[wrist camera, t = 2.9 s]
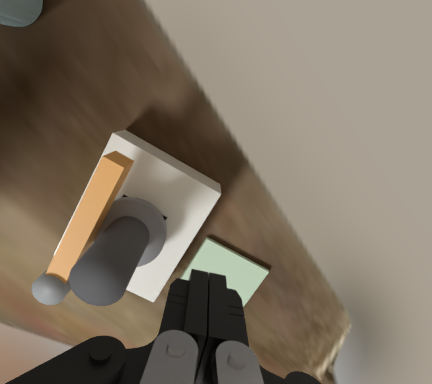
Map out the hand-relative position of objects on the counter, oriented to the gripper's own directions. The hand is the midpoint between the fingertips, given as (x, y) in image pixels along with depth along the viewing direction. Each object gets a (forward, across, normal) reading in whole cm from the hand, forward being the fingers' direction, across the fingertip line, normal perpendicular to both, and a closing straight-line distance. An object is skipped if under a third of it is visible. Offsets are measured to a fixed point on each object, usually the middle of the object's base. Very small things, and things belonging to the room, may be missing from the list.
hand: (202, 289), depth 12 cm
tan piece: (+14, +10, +5) cm, 18 cm away
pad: (+21, -4, +13) cm, 25 cm away
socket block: (+21, +6, +6) cm, 23 cm away
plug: (+21, +6, +6) cm, 23 cm away
